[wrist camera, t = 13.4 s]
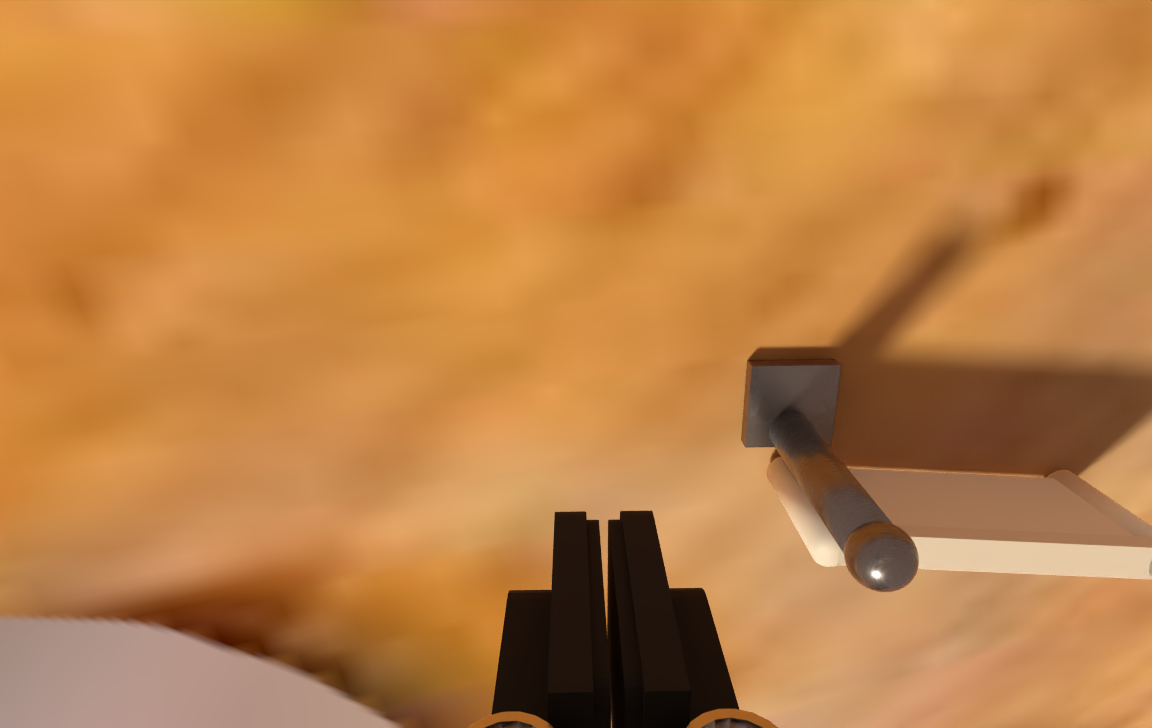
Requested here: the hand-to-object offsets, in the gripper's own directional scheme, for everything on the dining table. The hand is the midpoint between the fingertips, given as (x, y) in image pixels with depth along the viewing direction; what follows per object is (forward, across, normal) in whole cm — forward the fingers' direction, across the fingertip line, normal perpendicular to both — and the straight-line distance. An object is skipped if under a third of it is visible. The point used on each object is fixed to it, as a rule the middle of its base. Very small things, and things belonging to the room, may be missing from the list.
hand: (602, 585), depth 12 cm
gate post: (+27, -12, +8) cm, 31 cm away
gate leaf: (+27, -20, +13) cm, 36 cm away
